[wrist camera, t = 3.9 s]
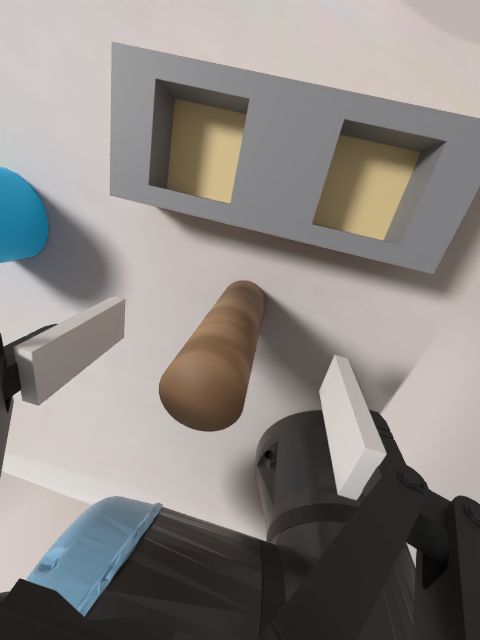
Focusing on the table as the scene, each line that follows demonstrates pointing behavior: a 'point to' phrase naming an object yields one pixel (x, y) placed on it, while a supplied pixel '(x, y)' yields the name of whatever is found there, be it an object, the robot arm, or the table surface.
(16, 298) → the table surface
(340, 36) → the table surface
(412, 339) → the table surface
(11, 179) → the mug
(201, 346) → the peg
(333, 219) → the rail
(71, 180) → the table surface
